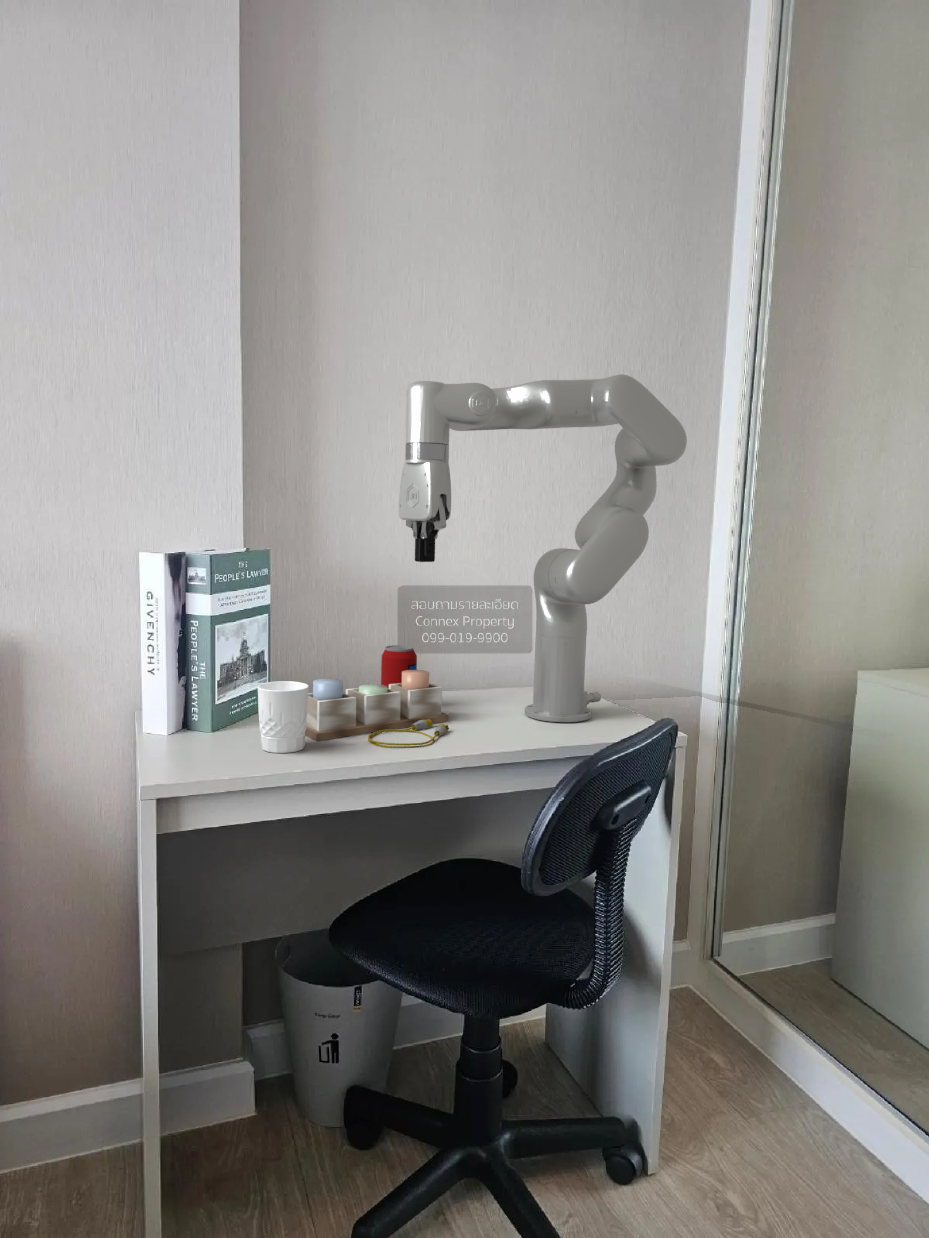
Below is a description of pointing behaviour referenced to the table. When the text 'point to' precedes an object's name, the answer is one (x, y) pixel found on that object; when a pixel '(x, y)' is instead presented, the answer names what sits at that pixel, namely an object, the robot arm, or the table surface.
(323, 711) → the button board
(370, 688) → the sage green cap
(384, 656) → the beverage can
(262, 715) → the white cup
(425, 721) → the extension cord
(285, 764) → the table surface
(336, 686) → the slate blue cap
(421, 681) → the pink rounded cylinder
